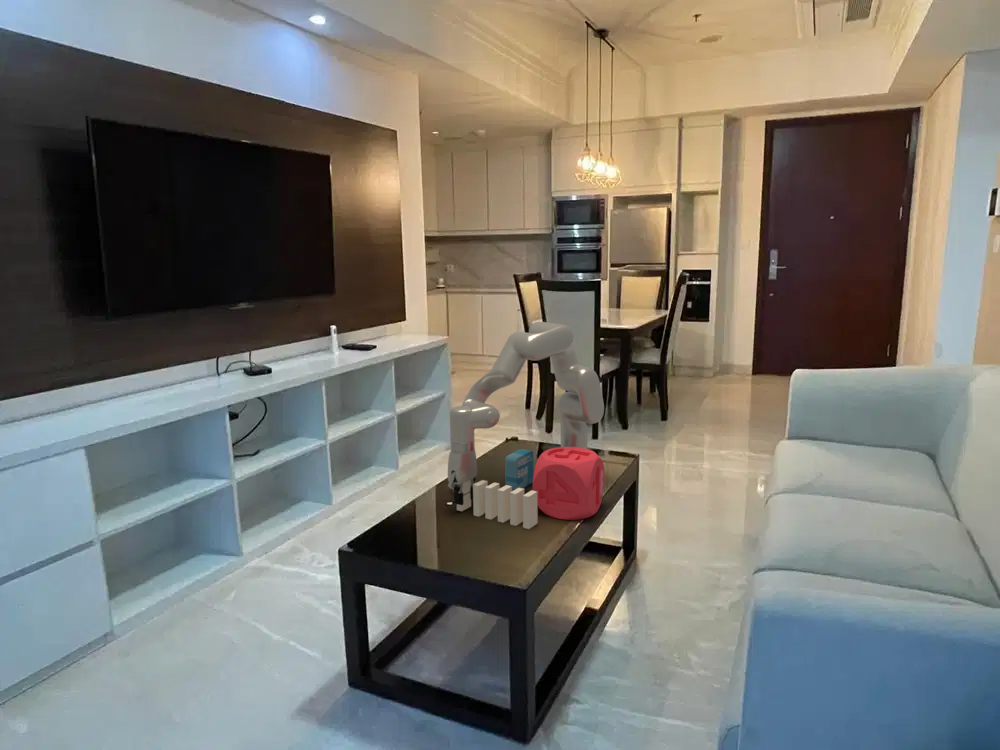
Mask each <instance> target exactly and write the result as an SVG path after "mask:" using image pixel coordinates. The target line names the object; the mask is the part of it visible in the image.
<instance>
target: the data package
mask: <svg viewBox="0 0 1000 750" xmlns="http://www.w3.org/2000/svg"><path fill="white" fill-rule="evenodd" d="M504 462H505V463H504V468H505V469H504V470H505V471H504V474H505V475H504V477H505V484H504V486H506V485H508V486H512V491H514V490H516V489H517V488H523V489H525V488H526V487H528V486H529V485H531V484H533V475H534V452H533V450H529V449H523V448H521V449H518V450H516V451H514V452H512V453H510V454H509V455H506V457H505V460H504Z"/></svg>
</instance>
